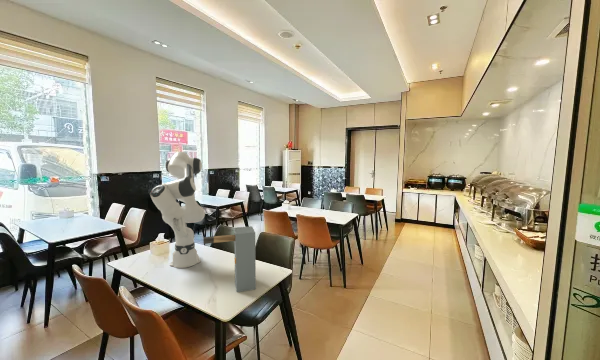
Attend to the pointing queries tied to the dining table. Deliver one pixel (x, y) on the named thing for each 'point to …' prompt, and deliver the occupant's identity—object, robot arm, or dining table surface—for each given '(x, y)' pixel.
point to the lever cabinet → (245, 259)
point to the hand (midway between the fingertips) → (186, 231)
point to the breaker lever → (218, 239)
